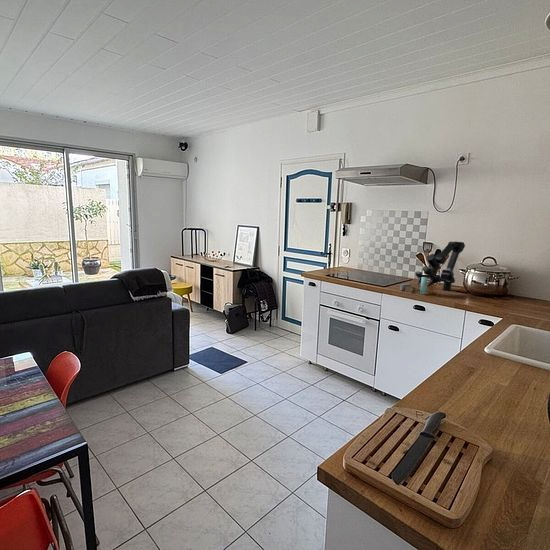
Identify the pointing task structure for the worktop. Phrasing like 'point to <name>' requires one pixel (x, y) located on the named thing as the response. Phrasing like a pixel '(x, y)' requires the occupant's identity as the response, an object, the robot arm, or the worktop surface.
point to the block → (412, 289)
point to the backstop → (402, 286)
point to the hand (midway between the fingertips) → (422, 285)
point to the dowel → (423, 285)
